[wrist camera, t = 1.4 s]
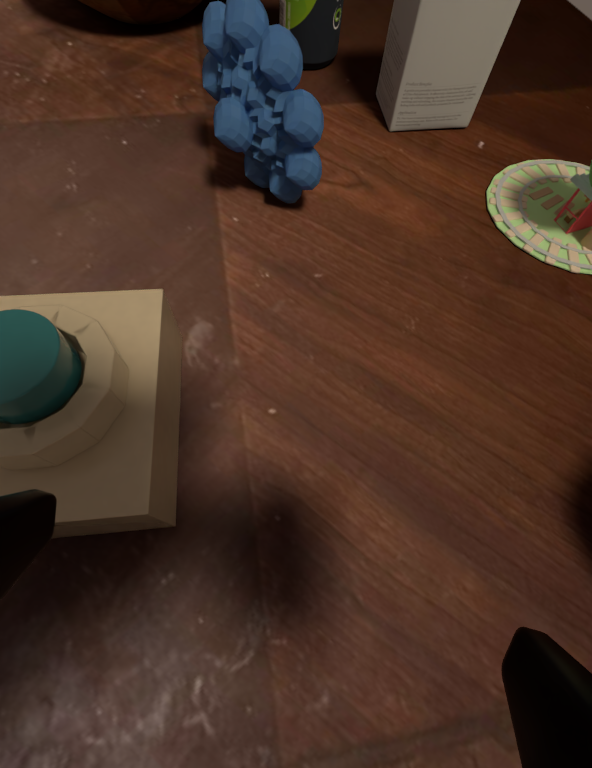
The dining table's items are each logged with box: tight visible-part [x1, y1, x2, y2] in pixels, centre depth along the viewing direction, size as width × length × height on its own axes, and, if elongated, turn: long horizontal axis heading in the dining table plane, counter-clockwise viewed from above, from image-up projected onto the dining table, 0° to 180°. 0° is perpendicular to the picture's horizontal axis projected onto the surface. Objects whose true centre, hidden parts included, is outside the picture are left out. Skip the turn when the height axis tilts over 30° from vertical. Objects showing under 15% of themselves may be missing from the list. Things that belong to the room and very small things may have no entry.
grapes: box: [202, 0, 324, 203], centre depth 27 cm, size 12×7×12 cm, turn 45°
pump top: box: [0, 309, 82, 424], centre depth 16 cm, size 4×4×2 cm
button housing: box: [0, 289, 182, 538], centre depth 20 cm, size 12×10×7 cm
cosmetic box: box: [376, 0, 520, 132], centre depth 31 cm, size 8×7×16 cm
